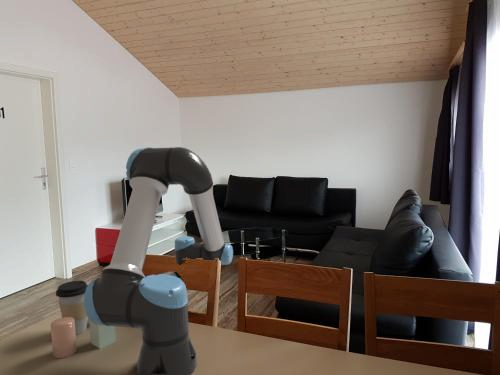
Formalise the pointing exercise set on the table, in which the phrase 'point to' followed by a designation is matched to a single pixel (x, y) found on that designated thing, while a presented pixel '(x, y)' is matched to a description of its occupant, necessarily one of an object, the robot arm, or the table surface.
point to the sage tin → (102, 334)
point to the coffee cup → (73, 303)
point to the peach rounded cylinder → (63, 337)
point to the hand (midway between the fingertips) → (96, 303)
